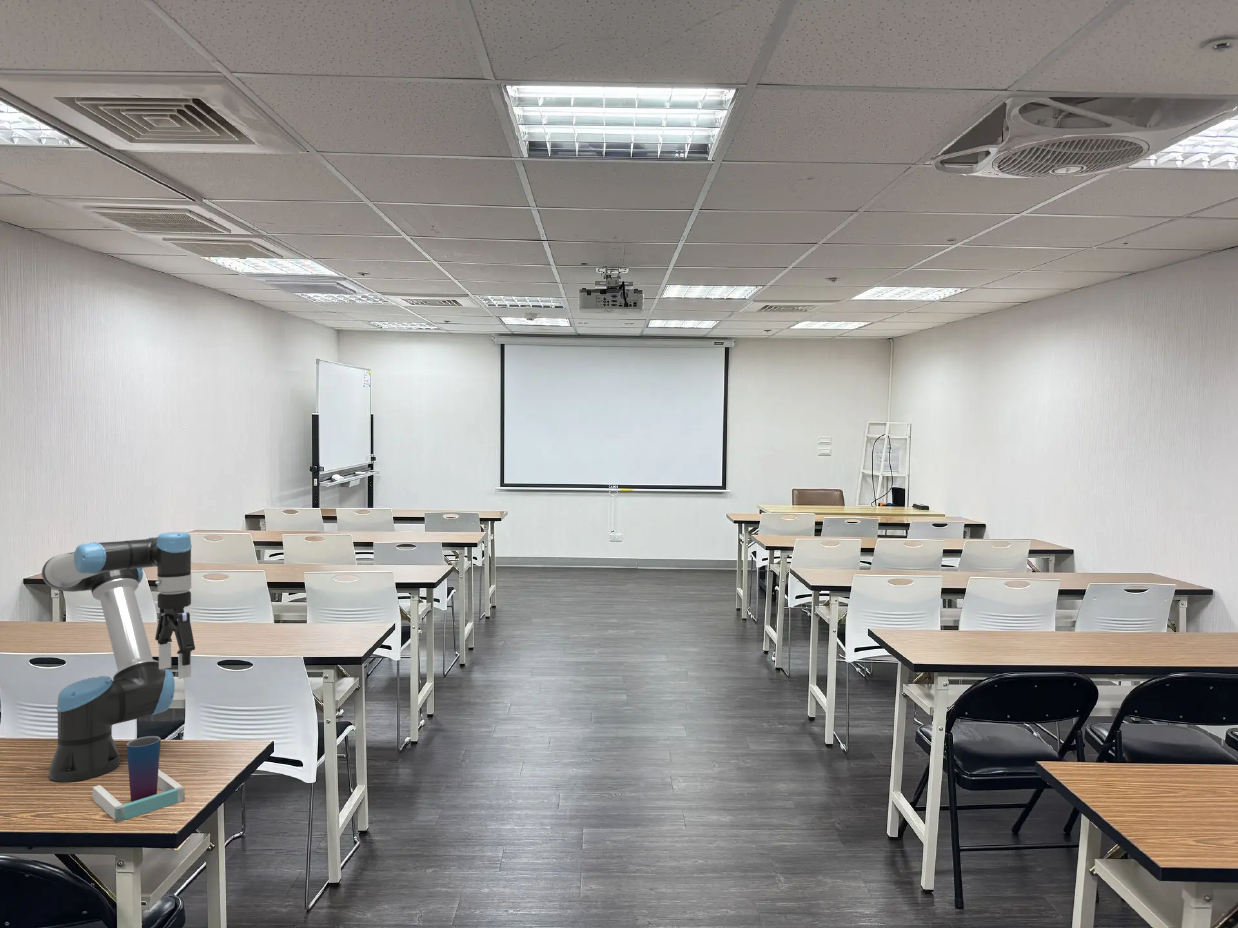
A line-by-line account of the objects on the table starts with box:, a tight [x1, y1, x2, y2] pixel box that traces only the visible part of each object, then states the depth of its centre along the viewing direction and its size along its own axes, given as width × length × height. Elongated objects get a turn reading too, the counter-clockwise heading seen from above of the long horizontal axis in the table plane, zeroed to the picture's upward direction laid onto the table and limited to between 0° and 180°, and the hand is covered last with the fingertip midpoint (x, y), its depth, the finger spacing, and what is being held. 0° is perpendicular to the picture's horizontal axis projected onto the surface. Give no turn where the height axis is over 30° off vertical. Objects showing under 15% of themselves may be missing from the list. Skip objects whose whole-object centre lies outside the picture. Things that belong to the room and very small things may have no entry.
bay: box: [92, 769, 186, 823], centre depth 176 cm, size 18×14×3 cm
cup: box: [126, 735, 162, 802], centre depth 174 cm, size 7×7×15 cm
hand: (174, 672), depth 190 cm, fingers open, 13 cm apart
